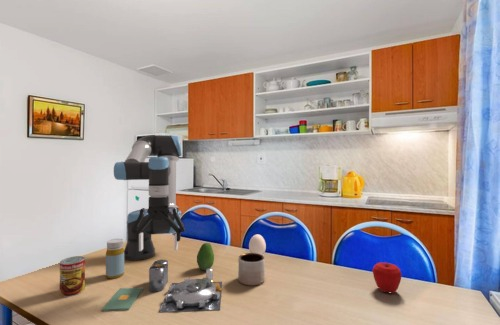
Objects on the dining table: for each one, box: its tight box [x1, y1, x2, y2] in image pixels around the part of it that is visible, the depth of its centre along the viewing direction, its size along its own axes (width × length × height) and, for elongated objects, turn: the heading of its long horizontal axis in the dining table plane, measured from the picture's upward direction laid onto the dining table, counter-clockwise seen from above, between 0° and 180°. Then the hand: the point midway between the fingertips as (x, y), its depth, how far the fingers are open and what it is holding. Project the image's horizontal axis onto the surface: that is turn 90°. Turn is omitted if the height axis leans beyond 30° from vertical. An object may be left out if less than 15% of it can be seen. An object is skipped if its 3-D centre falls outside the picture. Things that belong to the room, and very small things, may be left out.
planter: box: [237, 252, 266, 287], centre depth 109 cm, size 11×11×10 cm
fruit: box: [196, 242, 215, 271], centre depth 120 cm, size 8×8×12 cm
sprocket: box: [165, 267, 220, 308], centre depth 97 cm, size 20×20×8 cm
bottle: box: [105, 238, 125, 280], centre depth 113 cm, size 7×7×15 cm
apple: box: [372, 262, 403, 293], centre depth 101 cm, size 10×10×11 cm
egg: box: [248, 234, 267, 256], centre depth 136 cm, size 9×9×12 cm
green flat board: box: [101, 287, 144, 312], centre depth 94 cm, size 14×8×1 cm, turn 4°
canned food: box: [59, 255, 86, 298], centre depth 100 cm, size 8×8×12 cm
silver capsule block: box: [148, 259, 169, 293], centre depth 105 cm, size 12×6×8 cm, turn 4°
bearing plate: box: [158, 281, 223, 313], centre depth 97 cm, size 20×20×1 cm
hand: (158, 249), depth 104 cm, fingers open, 13 cm apart
